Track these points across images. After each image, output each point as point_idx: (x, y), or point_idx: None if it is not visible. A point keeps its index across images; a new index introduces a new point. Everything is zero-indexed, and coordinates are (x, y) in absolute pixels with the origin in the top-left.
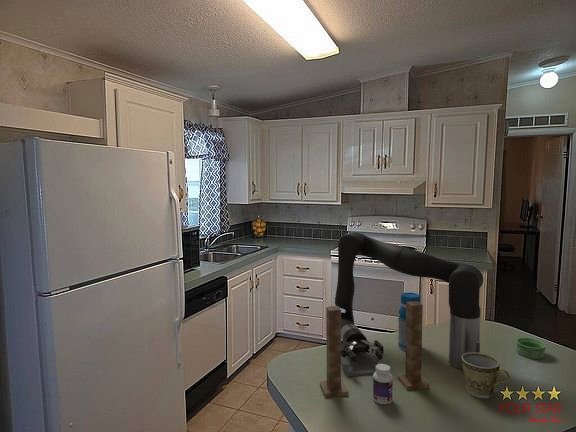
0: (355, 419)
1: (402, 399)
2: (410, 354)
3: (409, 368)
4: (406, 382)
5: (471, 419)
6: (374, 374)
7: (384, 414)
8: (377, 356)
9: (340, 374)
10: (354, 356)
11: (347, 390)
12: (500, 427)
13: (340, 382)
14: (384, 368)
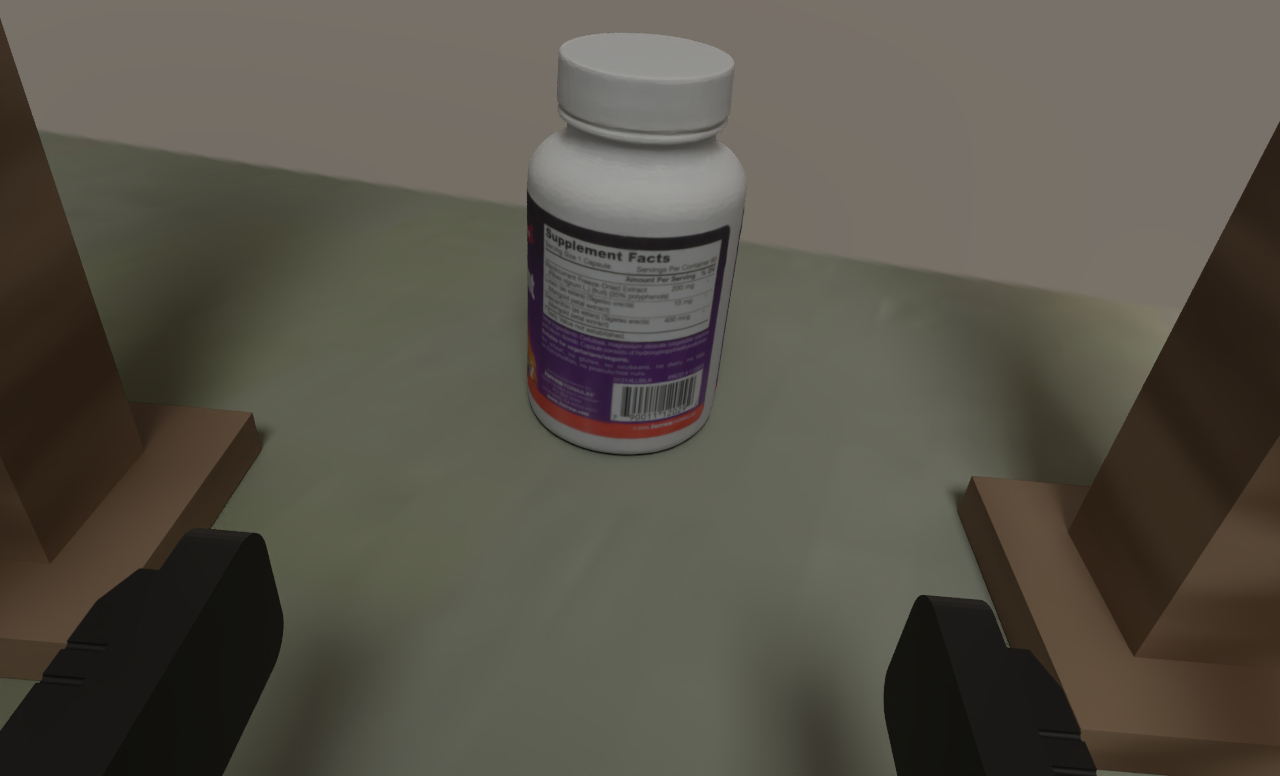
0: (913, 306)
1: (434, 369)
2: (4, 48)
3: (70, 306)
4: (180, 466)
5: (165, 183)
6: (734, 169)
7: None
8: (207, 749)
9: (1158, 374)
10: (953, 601)
11: (984, 494)
12: (94, 139)
13: (1109, 465)
14: (643, 43)
